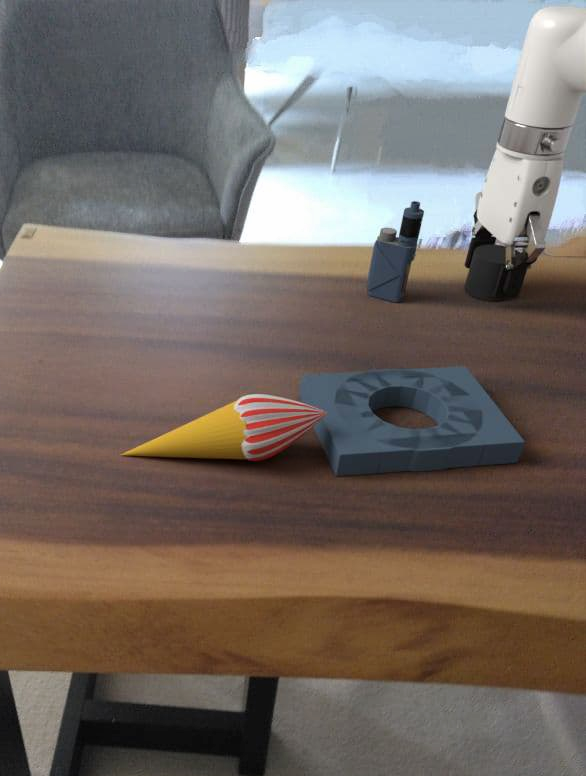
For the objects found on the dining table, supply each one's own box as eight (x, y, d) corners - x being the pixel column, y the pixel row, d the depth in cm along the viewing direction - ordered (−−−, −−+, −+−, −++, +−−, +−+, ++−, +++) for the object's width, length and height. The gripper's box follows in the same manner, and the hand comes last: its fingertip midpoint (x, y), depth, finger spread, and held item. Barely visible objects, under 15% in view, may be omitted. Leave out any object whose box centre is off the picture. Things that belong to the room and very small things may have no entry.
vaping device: (401, 304, 100) (422, 208, 92) (362, 294, 102) (379, 199, 94) (408, 297, 102) (429, 201, 94) (369, 287, 104) (387, 192, 96)
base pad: (459, 384, 86) (464, 364, 84) (518, 464, 76) (526, 443, 74) (298, 394, 84) (301, 373, 82) (336, 477, 74) (340, 456, 72)
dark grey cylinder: (499, 280, 106) (510, 243, 103) (519, 300, 102) (531, 262, 98) (457, 282, 105) (466, 245, 102) (475, 302, 101) (486, 264, 98)
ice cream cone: (131, 483, 79) (330, 443, 77) (121, 490, 73) (337, 447, 71) (118, 422, 78) (319, 380, 76) (106, 424, 72) (325, 378, 70)
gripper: (603, 160, 85) (548, 311, 97) (529, 115, 98) (489, 253, 109) (538, 162, 84) (491, 314, 96) (471, 116, 97) (437, 255, 109)
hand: (490, 281), depth 103 cm, fingers open, 8 cm apart
